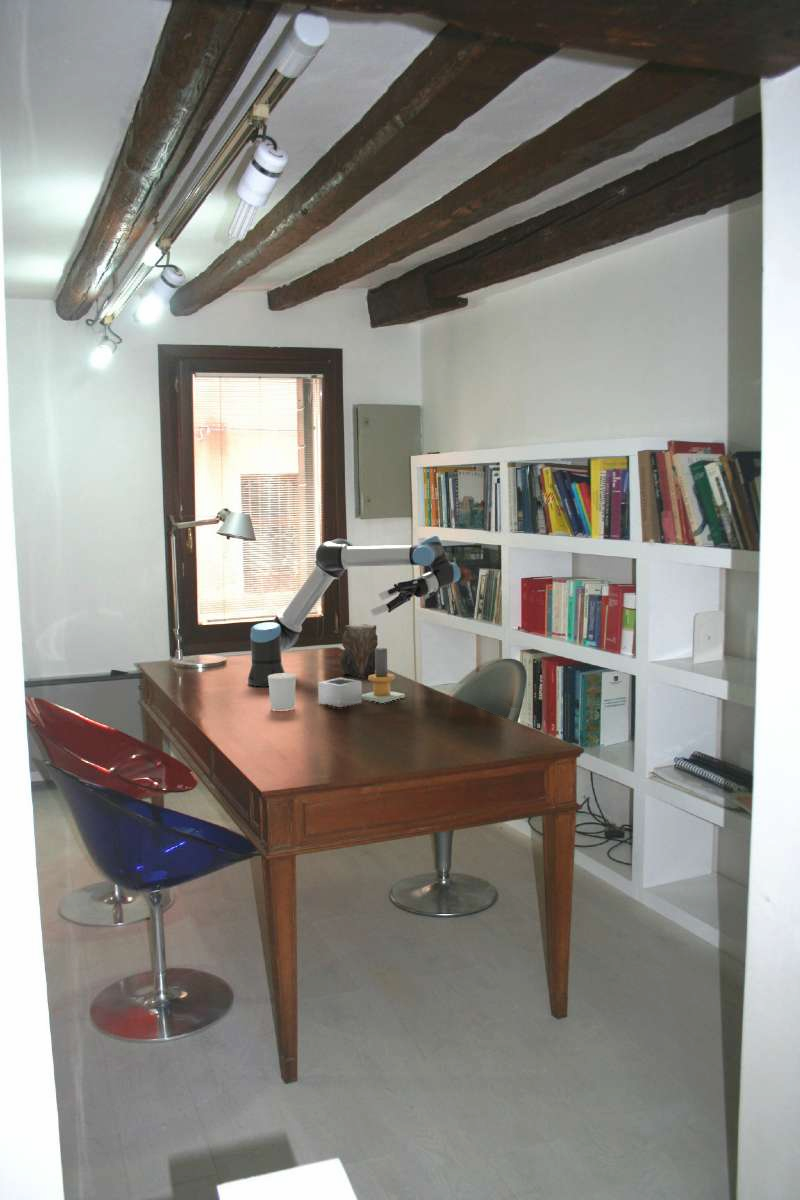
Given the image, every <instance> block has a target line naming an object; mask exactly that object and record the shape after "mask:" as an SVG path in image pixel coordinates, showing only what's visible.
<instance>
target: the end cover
mask: <svg viewBox="0 0 800 1200" xmlns="http://www.w3.org/2000/svg"><path fill="white" fill-rule="evenodd" d="M367 678H368V679H367V680H368V681H370V682H372V687H373V689H372V692H373V695H374V696H389V695H390V691H391V682H393V681H395V679H396V677H395V674H392V673H388V648H387V647H376V649H375V673H374V674H371V675H368V676H367Z"/></svg>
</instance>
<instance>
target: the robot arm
mask: <svg viewBox="0 0 800 1200" xmlns="http://www.w3.org/2000/svg"><path fill="white" fill-rule="evenodd" d="M314 563H315V567H314V569H313V570H312V572H311V573H310V574H309V576H308V577H307V578H306V580H305V582H304V583H303V584H302V586H301V587H300V589H299V590H298V592H297V593H296V595H295V596H294V597H293V599H292V600H291V601H290V603H289V604H288V605H287V607H286V609H285V610H284V611H283V612H279V613H278V614H277V615H276V616H275V617H274V619H273V621H268V622H266V621H265V622H261V623H257V624H254V625H253V626H252V627H251V628H250V636H249V637H250V652H251V653H250V655H251V666H250V669H249V673H248V677H247V685H248V684H250V685H249V686H251V685H253V686H252V687H256V686H261V687H260V688H266V687H267V686H269V683H268V676H269V675H271V674H277V673H286V672H285V669H284V667H283V664H282V652H283V651H288V650H289V649H291V648H293V646H294V645H295V644H296V642H297V641H298V639H299V636H300V633H301V632H302V631H303V626H302V624H303V623H304V622H305V620H306V619H307V617H308V616H309V614H310V613H311V612H312V610H313V609H314V608H315V606H316V605H317V603H318V602H319V600H320V599H321V597H322V596H323V595H324V594H325V592H326V590H327V589H328V588H329V586H331V584H332V582H333V581H334V580H338V579H340V577H341V576H342V575H343V574H344V572H345V571H346V570H348V569H349V568H350V567H380V566H381V567H386V566H387V567H389V566H391V567H392V566H420V567H428V566H429V568H430V570H431V571H427V572H426V573H424V574H421V575H419V576H417V577H414V578H412V579H411V580H407V581H406V580H405V581H401V582H400V581H399V582H397V583H394V584H393V587H391V588H388V589H387V590H384V591H382V592H379V593H378V596H379V598H380V599H381V601H384V600H387V599H389V598H392V597H393V596H396V595H397V594H398V595H397V596H396V597H394V598H393V599H392V600H390V601H389V602H387V603H383V604H380V605H379V606H376V607H375V608H373V609H370V612H371V614H372V616H373V617H376V616H378V615H381V614H383V613H386V612H387V613H391V612H392V611H394V610H396V609H397V608H398V607H400V606H403V605H404V604H405V603H407V602H409V601H411V600H412V599H411V598H413V596H415V597H416V598H422V597H425V596H426V595H428V594H430V593H433V592H434V593H436V592H437V591H438V590H440V589H443V588H445V587H448V586H450V585H452V584H454V583H455V582H458V581H459V580H460V578H461V577H462V576H461V568H460V566H458V564H457V563H456V562H454V561H453V562H450V561H449V558H448V556H447V554H446V552H445V550H444V547H443V544H442V541H441V540H440V538H439V536H438V535H433V536H431V537H428V538H425V539H424V540H422V541H421V542H420V544H414V545H413V544H412V545H411V544H410V545H369V546H368V545H366V546H363V545H362V546H361V545H360V546H359V545H358V546H354V545H353V543H351V542H350V541H349V540H347V539H343V538H335V539H333V540H328V541H324V542H322V543H321V544H320V545H319V546H318V547H317V549H316V550H315V562H314ZM267 688H268V687H267Z"/></svg>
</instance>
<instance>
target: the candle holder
mask: <svg viewBox="0 0 800 1200" xmlns="http://www.w3.org/2000/svg"><path fill="white" fill-rule="evenodd" d="M296 678H297V675H296V674H295V673H289V672H285V673H277V674H271V675H269V676H268V683H269V687H268V692H269V703H270V704H269V705H270V710H271V709H275V710H286V709H292V708H294V707H295V706H296V683H297V682H296ZM295 708H296V707H295Z"/></svg>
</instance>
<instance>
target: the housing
mask: <svg viewBox="0 0 800 1200" xmlns="http://www.w3.org/2000/svg"><path fill="white" fill-rule="evenodd" d="M362 684H363V682H362V680H359V679H358V680H356V679H351V678H346V677H336V678H332V679H328V680H323V681H318V684H317V686H318V687H317V690H318V691H317V692H318V704H319V703H322V704H328V705H333V706H337V707H343V706H347V705H351V704H355V703H360V702H362V703H363V700H362V694H363V685H362ZM360 704H361V703H360Z"/></svg>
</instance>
